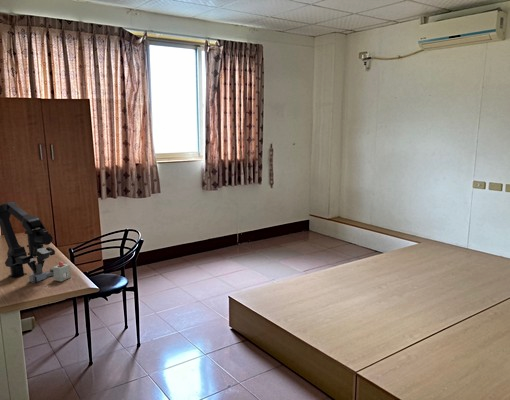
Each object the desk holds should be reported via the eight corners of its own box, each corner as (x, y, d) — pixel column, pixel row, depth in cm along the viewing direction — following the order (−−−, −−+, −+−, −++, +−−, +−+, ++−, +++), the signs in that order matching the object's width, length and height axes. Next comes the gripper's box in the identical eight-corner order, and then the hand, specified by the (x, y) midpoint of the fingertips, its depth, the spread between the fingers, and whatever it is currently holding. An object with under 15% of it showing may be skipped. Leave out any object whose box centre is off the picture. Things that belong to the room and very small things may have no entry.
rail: (29, 281, 221) (29, 276, 220) (51, 273, 232) (51, 268, 232) (33, 282, 219) (33, 277, 219) (55, 274, 231) (55, 269, 230)
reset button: (58, 269, 223) (57, 262, 222) (61, 268, 225) (61, 261, 224) (61, 269, 222) (60, 263, 221) (64, 268, 224) (63, 261, 223)
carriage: (30, 280, 223) (29, 265, 221) (39, 276, 227) (37, 262, 226) (37, 281, 220) (36, 266, 219) (46, 278, 225) (44, 263, 223)
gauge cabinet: (54, 280, 223) (52, 267, 222) (64, 276, 228) (62, 263, 227) (61, 281, 220) (60, 268, 219) (71, 277, 226) (70, 264, 224)
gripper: (28, 249, 208) (31, 280, 211) (60, 239, 225) (63, 268, 228) (13, 246, 213) (17, 276, 216) (46, 237, 230) (49, 265, 233)
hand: (37, 272), depth 223 cm, fingers closed on carriage, 3 cm apart
